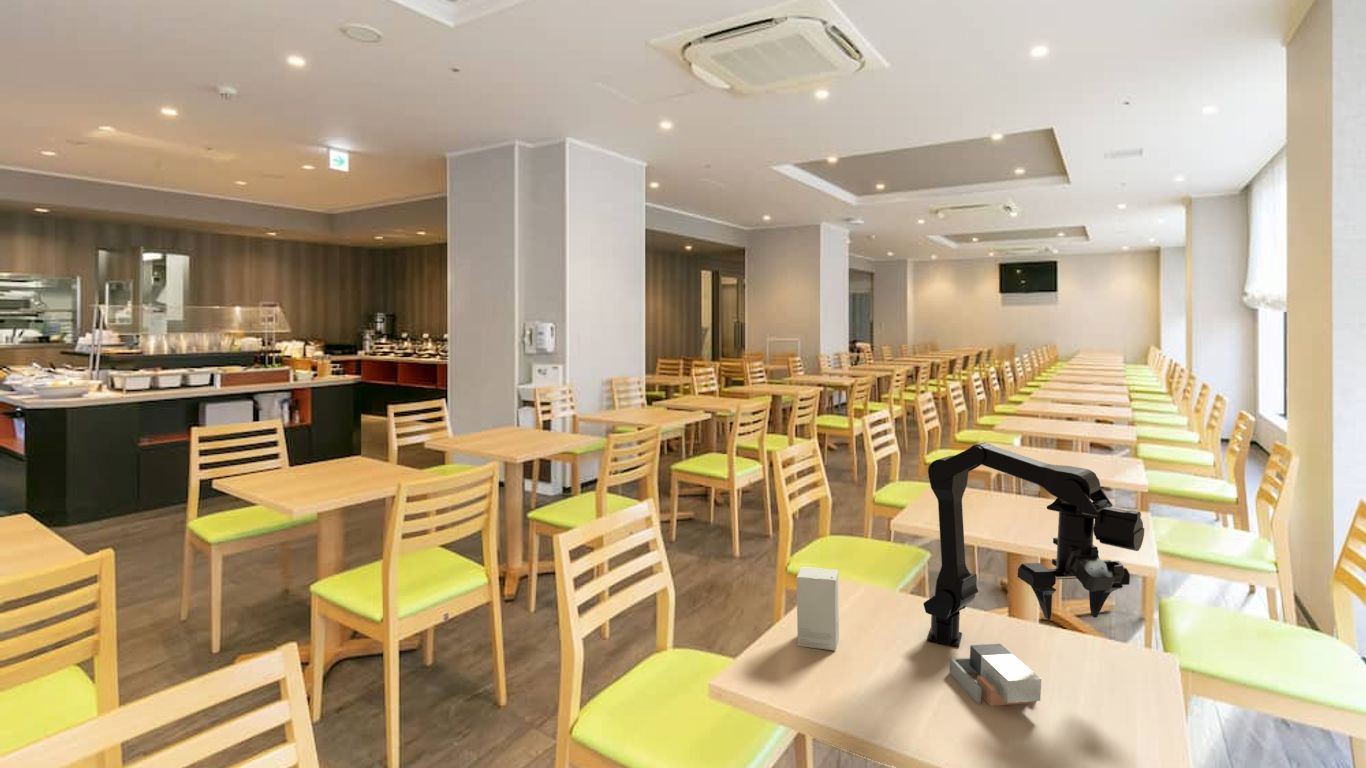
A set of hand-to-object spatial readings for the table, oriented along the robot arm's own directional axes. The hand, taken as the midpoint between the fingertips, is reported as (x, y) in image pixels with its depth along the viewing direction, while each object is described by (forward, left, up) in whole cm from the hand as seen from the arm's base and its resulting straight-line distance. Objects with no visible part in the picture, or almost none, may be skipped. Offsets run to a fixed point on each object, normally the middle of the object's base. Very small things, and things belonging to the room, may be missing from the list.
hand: (1070, 617), depth 131 cm
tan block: (+10, -11, -13) cm, 20 cm away
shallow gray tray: (+7, -13, -13) cm, 20 cm away
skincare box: (+5, -47, -13) cm, 49 cm away
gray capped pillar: (+16, -7, -8) cm, 19 cm away
